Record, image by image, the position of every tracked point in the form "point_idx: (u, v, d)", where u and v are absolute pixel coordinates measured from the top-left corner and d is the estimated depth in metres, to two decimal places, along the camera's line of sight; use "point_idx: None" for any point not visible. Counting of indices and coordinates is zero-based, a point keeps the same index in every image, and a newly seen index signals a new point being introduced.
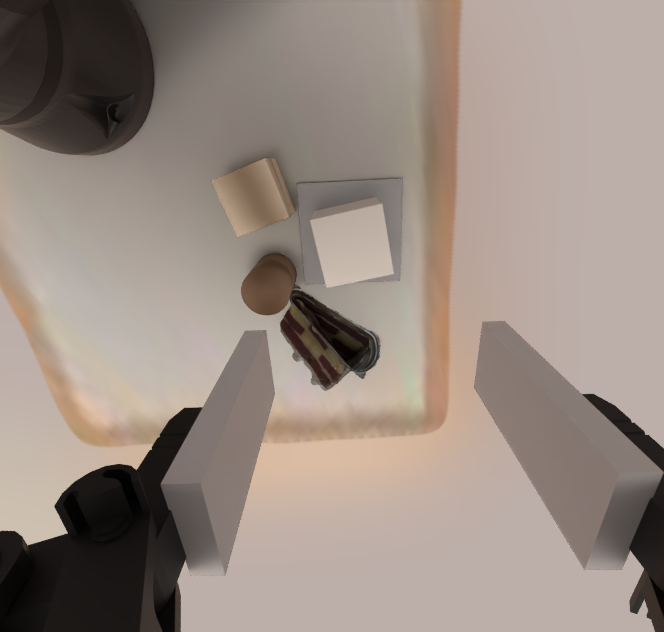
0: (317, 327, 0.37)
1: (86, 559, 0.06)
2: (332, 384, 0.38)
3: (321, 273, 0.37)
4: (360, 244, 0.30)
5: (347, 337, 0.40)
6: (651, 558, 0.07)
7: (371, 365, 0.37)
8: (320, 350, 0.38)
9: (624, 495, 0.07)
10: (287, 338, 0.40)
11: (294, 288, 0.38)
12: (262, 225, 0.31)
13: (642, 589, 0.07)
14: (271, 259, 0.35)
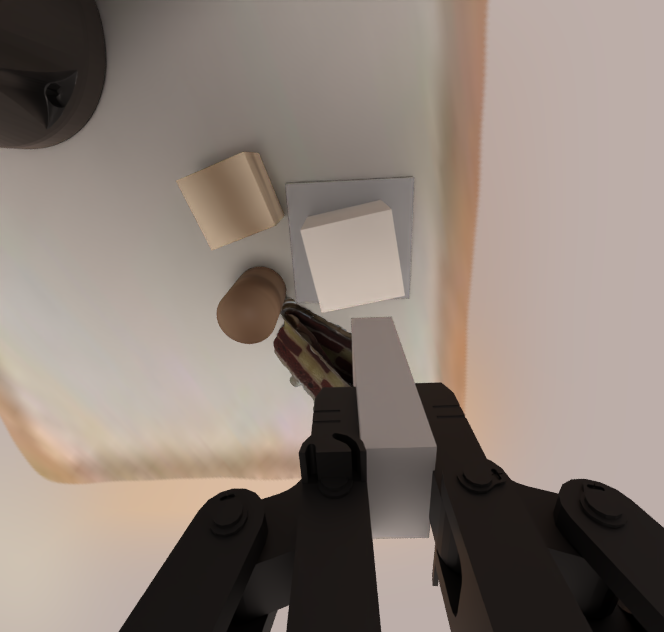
0: (316, 347, 0.30)
1: (318, 507, 0.06)
2: None
3: None
4: (364, 260, 0.24)
5: None
6: (436, 534, 0.07)
7: None
8: (322, 374, 0.31)
9: (410, 468, 0.07)
10: (282, 360, 0.33)
11: (286, 301, 0.32)
12: (242, 235, 0.25)
13: (435, 564, 0.07)
14: (255, 274, 0.29)
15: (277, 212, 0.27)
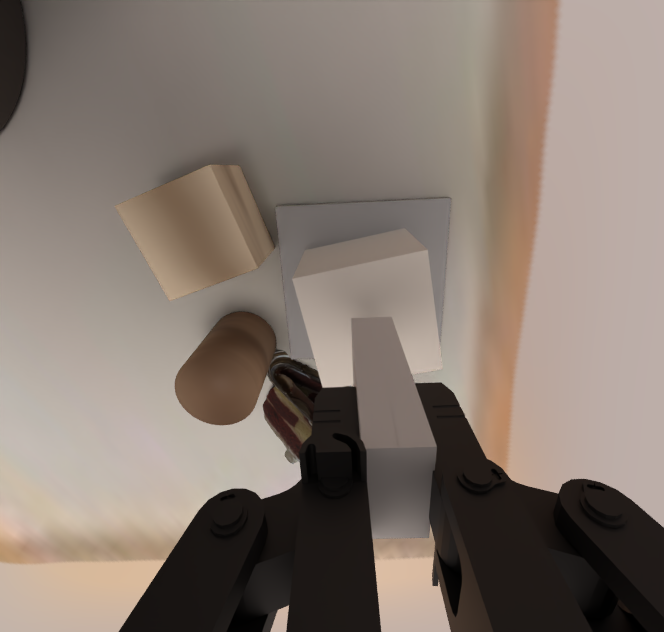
0: None
1: (318, 507, 0.06)
2: None
3: None
4: None
5: None
6: (436, 535, 0.07)
7: None
8: None
9: (409, 468, 0.07)
10: (274, 429, 0.26)
11: (277, 356, 0.24)
12: (211, 281, 0.18)
13: (435, 564, 0.07)
14: (232, 326, 0.21)
15: (263, 246, 0.20)
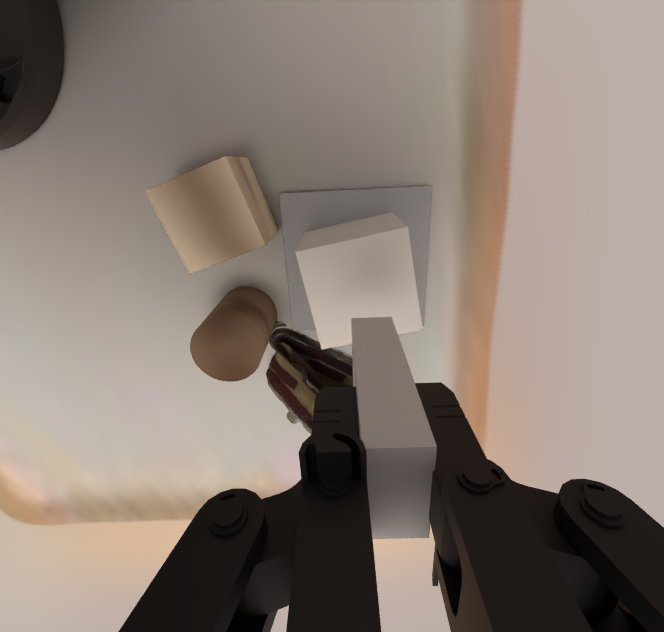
0: (313, 379, 0.26)
1: (318, 507, 0.06)
2: None
3: None
4: (373, 288, 0.20)
5: None
6: (436, 534, 0.07)
7: None
8: None
9: (409, 468, 0.07)
10: (277, 393, 0.29)
11: (277, 327, 0.27)
12: (225, 256, 0.21)
13: (435, 564, 0.07)
14: (238, 297, 0.24)
15: (269, 227, 0.23)
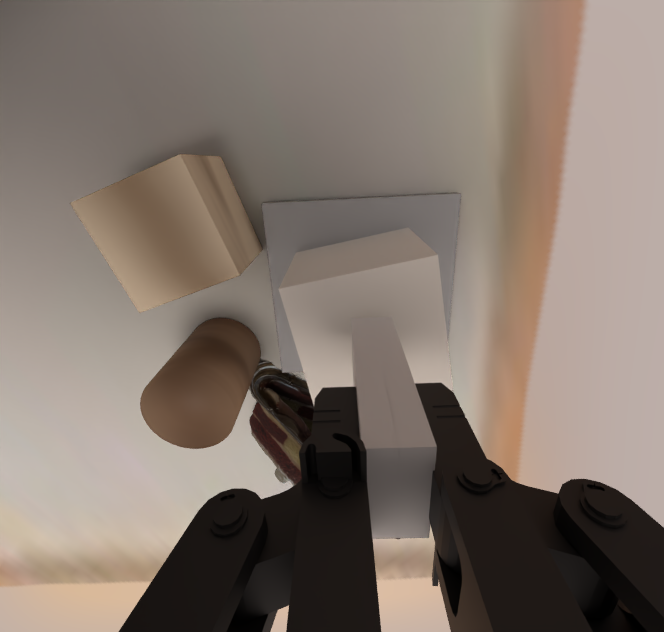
0: (306, 437, 0.20)
1: (318, 507, 0.06)
2: None
3: None
4: None
5: None
6: (436, 535, 0.07)
7: None
8: None
9: (409, 468, 0.07)
10: (262, 446, 0.24)
11: (261, 367, 0.22)
12: (186, 290, 0.15)
13: (435, 564, 0.07)
14: (209, 335, 0.19)
15: (248, 248, 0.17)
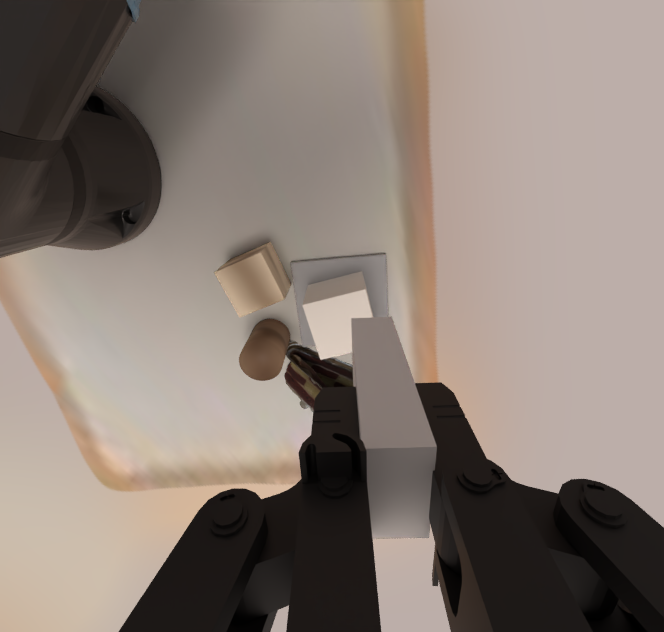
0: (316, 378, 0.40)
1: (318, 507, 0.06)
2: None
3: None
4: (348, 323, 0.33)
5: (346, 380, 0.43)
6: (436, 534, 0.07)
7: None
8: None
9: (410, 468, 0.07)
10: (292, 388, 0.43)
11: (290, 344, 0.41)
12: (261, 306, 0.35)
13: (435, 564, 0.07)
14: (266, 327, 0.38)
15: (285, 285, 0.37)
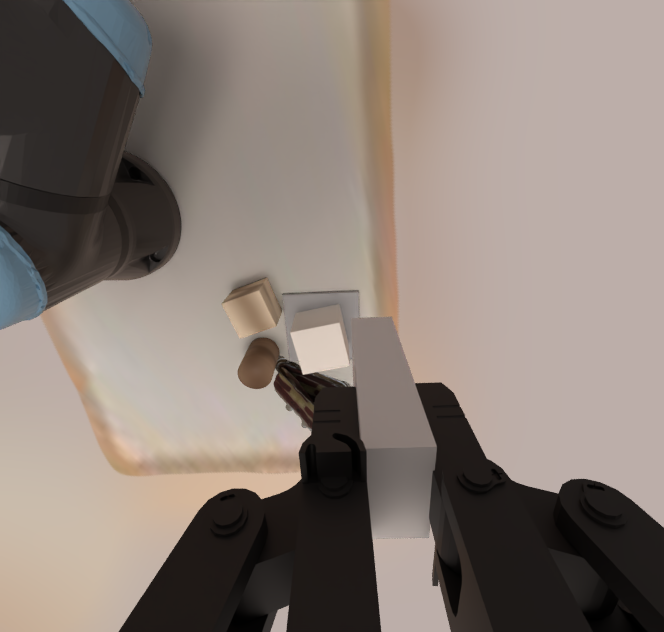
0: (299, 387, 0.49)
1: (318, 507, 0.06)
2: None
3: None
4: (325, 347, 0.43)
5: None
6: (436, 535, 0.07)
7: None
8: (304, 403, 0.50)
9: (409, 468, 0.07)
10: (280, 394, 0.52)
11: (279, 358, 0.51)
12: (257, 331, 0.44)
13: (435, 564, 0.07)
14: (260, 345, 0.48)
15: (277, 313, 0.46)
